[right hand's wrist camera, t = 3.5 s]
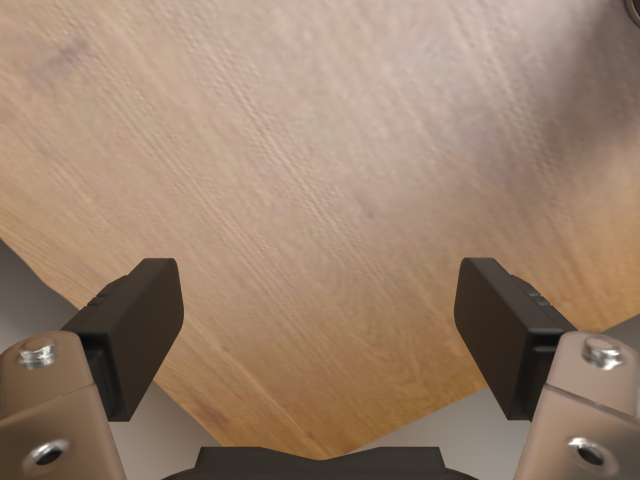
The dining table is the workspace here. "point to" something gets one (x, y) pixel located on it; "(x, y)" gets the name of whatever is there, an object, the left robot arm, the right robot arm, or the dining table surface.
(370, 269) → the dining table surface
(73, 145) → the dining table surface
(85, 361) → the right robot arm
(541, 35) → the dining table surface
